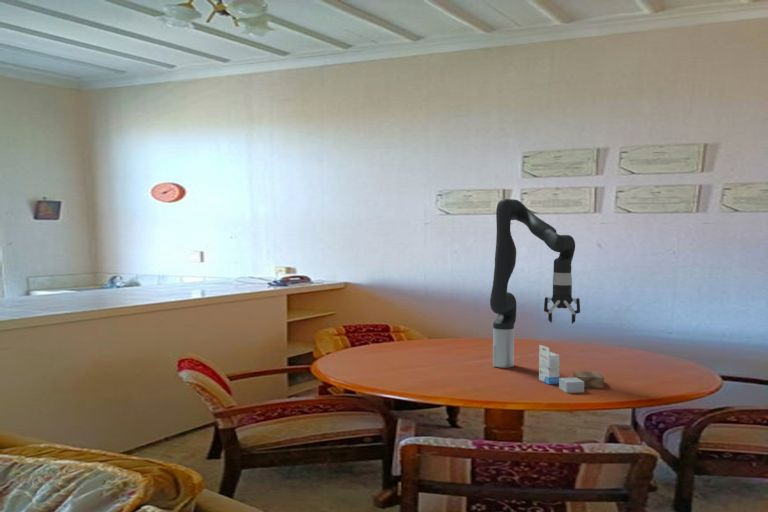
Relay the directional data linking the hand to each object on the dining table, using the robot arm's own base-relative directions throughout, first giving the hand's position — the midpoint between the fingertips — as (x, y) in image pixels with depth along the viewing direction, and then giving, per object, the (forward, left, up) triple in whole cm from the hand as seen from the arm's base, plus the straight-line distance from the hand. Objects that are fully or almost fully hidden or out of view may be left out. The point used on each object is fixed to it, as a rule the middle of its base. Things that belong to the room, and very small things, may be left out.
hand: (561, 322), depth 251 cm
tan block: (+9, -8, -23) cm, 26 cm away
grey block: (+1, -18, -23) cm, 29 cm away
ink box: (-6, -6, -24) cm, 25 cm away
